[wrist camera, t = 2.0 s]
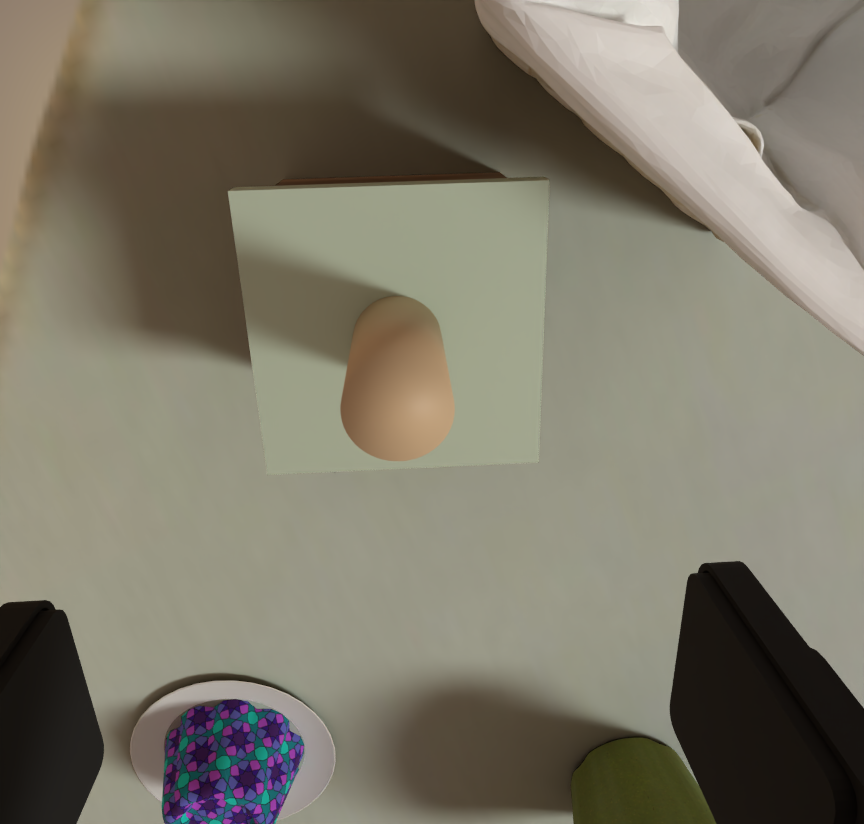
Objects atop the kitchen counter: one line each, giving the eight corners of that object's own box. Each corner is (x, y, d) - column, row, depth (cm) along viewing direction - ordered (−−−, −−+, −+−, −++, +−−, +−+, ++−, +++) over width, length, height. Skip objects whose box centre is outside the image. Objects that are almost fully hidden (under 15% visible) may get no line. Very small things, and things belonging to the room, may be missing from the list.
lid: (241, 183, 24) (171, 223, 16) (536, 173, 24) (599, 208, 17) (276, 447, 28) (232, 576, 21) (528, 436, 28) (576, 558, 21)
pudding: (271, 838, 46) (256, 924, 41) (99, 767, 43) (61, 851, 38) (375, 725, 43) (372, 805, 38) (196, 638, 39) (168, 713, 35)
